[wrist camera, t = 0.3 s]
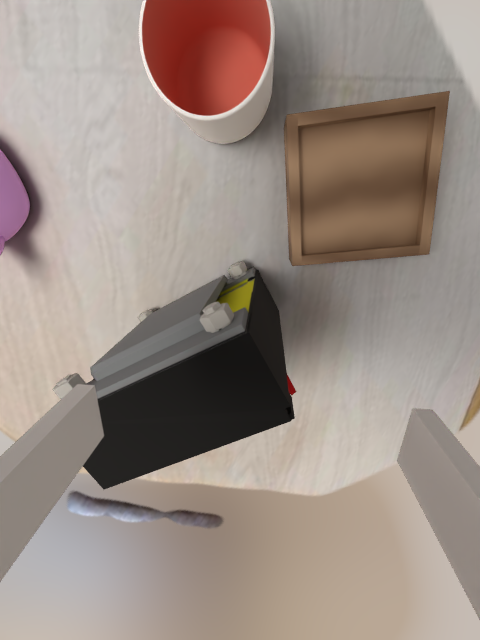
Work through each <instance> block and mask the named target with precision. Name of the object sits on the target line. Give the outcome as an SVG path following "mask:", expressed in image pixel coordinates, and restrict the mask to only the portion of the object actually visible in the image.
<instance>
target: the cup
mask: <svg viewBox="0 0 480 640" xmlns="http://www.w3.org/2000/svg"><path fill="white" fill-rule="evenodd" d="M139 44H140V51H141V56H142V60H143V64H144V67H145V70H146V73H147V75H148V77H149V79H150V81H151V83H152V85H153V87H154V88H155V90H156V91H157V93H158V94H159V95H160V97H161V98H162V99H163V100H164V101H165V102H166V103H167V104H168V106H169V107H170V108H171V109H172V110H173V111H174V112H175V113H176V114H177V115H178V116H179V117H180V118H181V119H182V120H183V122H184V123H185V124H186V125H187V126H188V127H189V128H190V129H191V130H192V131H193V132H194V133H195V134H197V135H198V136H199V137H201V138H203V139H205V140H207V141H210V142H213V143H219V144H227V143H233V142H236V141H239V140H241V139H243V138H245V137H246V136H247V135H249V134H250V133H251V132H252V131H253V130H255V128H256V127H257V126H258V125H259V124H260V122H261V121H262V119H263V117H264V115H265V113H266V111H267V109H268V106H269V103H270V99H271V94H272V84H273V64H274V45H275V22H274V14H273V9H272V5H271V1H270V0H143V3H142V7H141V12H140V18H139Z"/></svg>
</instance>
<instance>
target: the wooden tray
mask: <svg viewBox="0 0 480 640" xmlns="http://www.w3.org/2000/svg"><path fill="white" fill-rule="evenodd" d="M449 93H450V91H446V92H439V93H432V94H425V95H419V96H412V97H405V98H398V99H391V100H384V101H377V102H371V103H364V104H357V105H350V106H343V107H336V108H329V109H323V110H316V111H309V112H302V113H295V114H288V115H287V116H286V120H285V125H284V142H285V166H286V190H287V214H288V238H289V260H290V262H291V264H292V266H298V265H310V264H322V263H333V262H345V261H357V260H368V259H380V258H392V257H403V256H415V255H427V254H429V252H430V244H431V236H432V228H433V220H434V212H435V204H436V196H437V188H438V180H439V173H440V165H441V157H442V149H443V141H444V133H445V125H446V117H447V109H448V101H449Z"/></svg>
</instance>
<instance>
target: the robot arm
mask: <svg viewBox="0 0 480 640" xmlns="http://www.w3.org/2000/svg"><path fill="white" fill-rule="evenodd" d="M103 437H104V432H103V427H102V422H101V416H100V411H99V406H98V400H97V395H96V390H95V385H83V384H77V385H76V386H75V387H74V388H73V389H72V390H71V391H70V392H69V393H68V394H66V395H65V396H64V397H63V398H62V399H61V400H60V401H59V402H58V403H57V404H56V405H55V406H54V407H53V408H51V409H50V410H49V411H48V412H47V413H46V414H45V415H44V416H43V417H42V418H41V419H40V420H39V421H38V422H36V423H35V424H34V425H33V426H32V427H31V428H30V429H29V430H28V431H27V432H26V433H25V434H24V435H23V436H21V437H20V438H19V439H18V440H17V441H16V442H15V443H14V444H13V445H12V446H11V447H10V448H9V449H8V450H6V451H5V452H4V454H2V455H1V456H0V582H1V580H2V579H3V577H4V576H5V574H6V573H7V572H8V570H9V569H10V567H11V566H12V565H13V563H14V562H15V561H16V559H17V558H18V556H19V555H20V553H21V552H22V551H23V549H24V548H25V546H26V545H27V544H28V542H29V541H30V539H31V538H32V537H33V535H34V534H35V532H36V531H37V530H38V528H39V527H40V525H41V524H42V522H43V521H44V520H45V518H46V517H47V516H48V514H49V513H50V511H51V510H52V508H53V507H54V506H55V504H56V503H57V501H58V500H59V499H60V497H61V496H62V494H63V493H64V492H65V490H66V489H67V487H68V486H69V484H70V483H71V482H72V480H73V479H74V478H75V476H76V475H77V473H78V472H79V470H80V469H81V468H82V466H83V465H84V463H85V462H86V461H87V459H88V458H89V456H90V455H91V454H92V452H93V451H94V449H95V448H96V447H97V445H98V444H99V442H100V441H101V440H102V438H103ZM397 462H398V464H399V465H400V467H401V469H402V471H403V473H404V475H405V477H406V479H407V481H408V483H409V484H410V487H411V489H412V491H413V492H414V494H415V496H416V498H417V500H418V502H419V504H420V506H421V508H422V510H423V512H424V514H425V516H426V517H427V519H428V521H429V523H430V525H431V527H432V529H433V531H434V533H435V535H436V537H437V539H438V541H439V543H440V544H441V546H442V548H443V550H444V552H445V554H446V556H447V558H448V560H449V562H450V564H451V566H452V568H453V569H454V571H455V573H456V575H457V577H458V579H459V581H460V583H461V585H462V587H463V589H464V591H465V592H466V595H467V596H468V598H469V600H470V602H471V604H472V606H473V608H474V610H475V612H476V614H477V616H478V617H479V620H480V466H479V465H478V464H477V463H476V462H475V460H474V459H473V458H472V457H471V456H470V454H469V453H468V452H467V451H466V450H465V448H464V447H463V446H462V445H461V443H460V442H459V441H458V440H457V439H456V437H455V436H454V435H453V434H452V433H451V431H450V430H449V429H448V428H447V427H446V425H445V424H444V423H443V422H442V420H441V419H440V418H439V417H438V416H437V414H436V413H435V412H434V411H433V410H428V409H414V408H413V409H412V412H411V415H410V419H409V422H408V425H407V429H406V432H405V435H404V439H403V442H402V446H401V449H400V452H399V456H398V459H397Z"/></svg>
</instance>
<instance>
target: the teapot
mask: <svg viewBox="0 0 480 640" xmlns="http://www.w3.org/2000/svg"><path fill="white" fill-rule="evenodd" d="M29 210H30V201H29V197H28V194H27V192H26V189H25V187H24V185H23V183H22V181H21V179H20V177H19V176H18V174H17V172H16V171H15V169H14V167H13V166H12V164H11V163H10V161H9V160H8V159H7V157H6V156H5V155H4V153H3V152H2V151H1V149H0V255H1V254H2V252H3V249H4V243H5V242H6V241H7V240H9V239H10V238H11V237H13V236H14V235H15V234H16V233H17V232H18V231H19V229H20V228H21V227H22V225H23V224H24V223H25V221H26V219H27V217H28V214H29Z"/></svg>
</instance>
